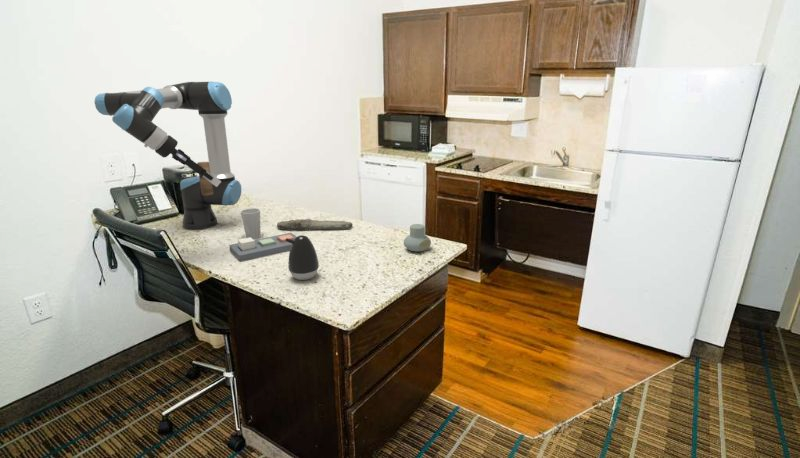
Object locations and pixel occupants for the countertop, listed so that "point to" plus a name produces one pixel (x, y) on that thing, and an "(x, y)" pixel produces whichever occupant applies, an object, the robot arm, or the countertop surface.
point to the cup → (251, 222)
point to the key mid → (266, 242)
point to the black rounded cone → (302, 258)
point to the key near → (246, 243)
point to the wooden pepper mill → (205, 184)
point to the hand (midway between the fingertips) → (217, 182)
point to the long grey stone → (313, 225)
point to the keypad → (261, 249)
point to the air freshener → (417, 239)
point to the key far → (283, 238)
